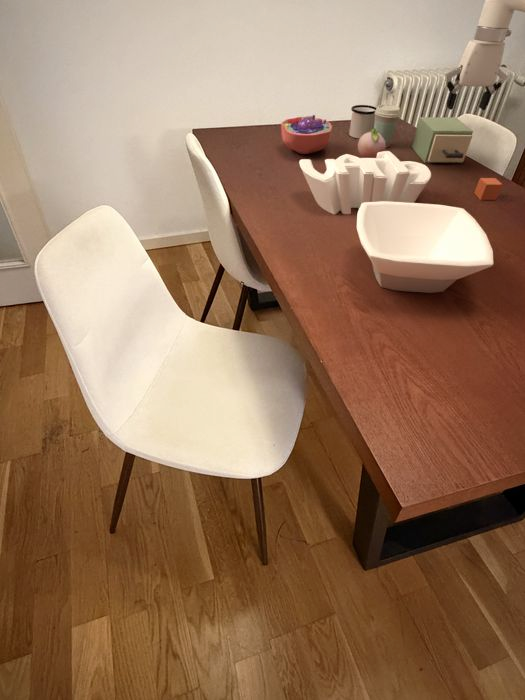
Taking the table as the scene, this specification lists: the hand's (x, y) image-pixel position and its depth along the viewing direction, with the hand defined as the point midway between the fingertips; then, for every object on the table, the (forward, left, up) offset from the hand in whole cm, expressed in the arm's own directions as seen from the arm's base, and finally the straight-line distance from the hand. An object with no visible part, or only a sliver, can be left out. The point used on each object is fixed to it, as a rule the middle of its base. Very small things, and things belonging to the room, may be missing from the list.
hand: (465, 108), depth 118 cm
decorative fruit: (+25, -3, -17) cm, 30 cm away
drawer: (0, -6, -16) cm, 17 cm away
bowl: (+30, +61, -17) cm, 70 cm away
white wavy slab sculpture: (+33, +26, -17) cm, 45 cm away
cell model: (+45, -13, -17) cm, 50 cm away
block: (-3, +23, -17) cm, 28 cm away
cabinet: (0, -10, -17) cm, 19 cm away
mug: (+22, -31, -17) cm, 42 cm away
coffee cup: (+17, -19, -17) cm, 31 cm away
